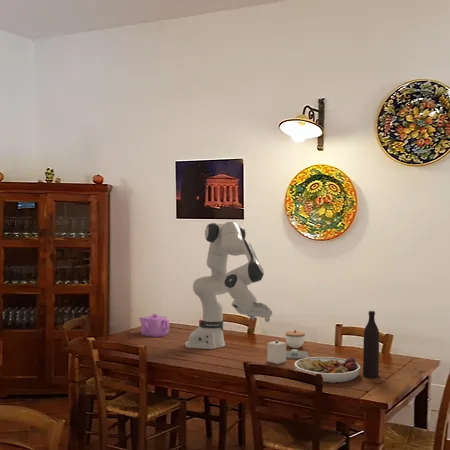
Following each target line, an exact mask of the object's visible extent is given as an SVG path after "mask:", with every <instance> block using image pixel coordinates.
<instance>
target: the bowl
mask: <svg viewBox="0 0 450 450" xmlns="http://www.w3.org/2000/svg"><path fill="white" fill-rule="evenodd" d="M294 369H295V371H296V370H298V371H303V372H308V373H313V374H321V375H322V377H323V381H324V382H323V383H327V382H329V384H330V383H333V384H334V383H336V382H338V383H344V382H350V381H352V380H354V379H356V378H357V377H358V376H359V374H360V372H361V365H360V364H359V363H357V362H356V360H355V358H354V357H347V359H345V358H339V357H329V356H328V357H327V356H314V357H309V358H304V359H297V360H296V361H295V362H294Z"/></svg>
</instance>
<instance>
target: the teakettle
mask: <svg viewBox="0 0 450 450" xmlns="http://www.w3.org/2000/svg"><path fill="white" fill-rule="evenodd" d="M139 321H140V334H141V336H145V337H151V338H152V337H153V338H160V337H164V336H167V335H169V331H170V320H169V319H168V317H167V316H163V315H162V316H161V315H158V313H152V315H148V316H145V317H144V316H143V317H142V316H141V317H139Z"/></svg>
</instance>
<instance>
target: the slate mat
mask: <svg viewBox="0 0 450 450" xmlns="http://www.w3.org/2000/svg"><path fill="white" fill-rule="evenodd" d="M304 358H310V356H309V353H308V352H307V351H306V350H305V351H303V350H302V351H301V350H298V349H297V348H292V349H291V350H289V351H288V350H286V360H300V359H304Z"/></svg>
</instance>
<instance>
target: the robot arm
mask: <svg viewBox="0 0 450 450" xmlns="http://www.w3.org/2000/svg"><path fill="white" fill-rule="evenodd" d="M246 234H247V233H246V229H245V227H243V226H240V225H239V224H238V223H236V222H234V221H228V222H224V223H215V222H211V223H209V224H207V225H206V227H205V230H204V237H205V240H206V241H207V242H208V243H209V247H208V252H207V258H206V266H207V268H209V269H210V270H211V273H210V275H207V276H206V275H205V276H201V277H198V278H196V279H195V280H194V281H193V284H192V291H193V292H194V294H195V295H196V296H197V297H198V298H199V300H200V303H201V307H202V319H199V320H198V327H197V328H196V329H195V330H193V331H191V333H190V334H189V338H188V341H186V342H185V343H184V347H185V348H189V349H203V350H204V349H205V350H214V349H218V348H223V347H225V346H226V342H225V339H224V338H225V337H224V325H225V324H224V320H223V316H224V315H223V312H224V309H223V305H222V304H221V303H220V302H219V301H218V300H217V296H219V295H221V296H222V295H224V294H227V293H228V294H229V296H231V297H230V298H232V299H233V301H232V303H231V306H232V307H233V309H235V310H236V311H237V313H238V314H240V315H244V316H245V315H246V317H248V318H250V319H251V320H255V319H256V318H264V321H265V322H266V323H270V320H271V319H270V318H271V317H272V315H273V311H272V310H271V308H270V307H269V306H268V305H267V304H265V303H262V302H258V300H257V298H256V296H255V295H254V293H253V292H252V291H251V290H250V289H249V287H248V286H249V285H251V284H254V283H257V282H261V281H262V279H263V278H264V275H265V272H264V269H263V267H262V265H261V264H260V261H259V259H258V257H257V255H256V253H255V251H254V248H253V246H252V244H251V243H250V242H249V241H248V240H247V239H246V237H247V236H246ZM244 255H245V257H246V258H247V261H248V262H246V263H245V264H243V265H240V266H239V267H236V268H233V269H231V270H230V271H229V272H228V269H227V268H228V267H227V263H228V258H229V256H232V257H233V256H234V257H236V256H244Z"/></svg>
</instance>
